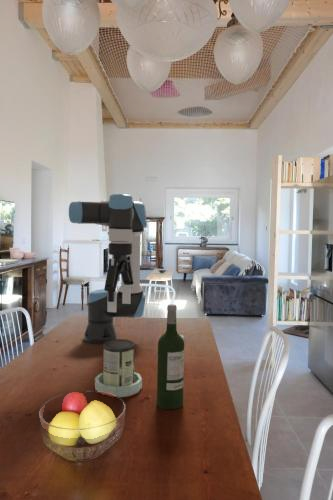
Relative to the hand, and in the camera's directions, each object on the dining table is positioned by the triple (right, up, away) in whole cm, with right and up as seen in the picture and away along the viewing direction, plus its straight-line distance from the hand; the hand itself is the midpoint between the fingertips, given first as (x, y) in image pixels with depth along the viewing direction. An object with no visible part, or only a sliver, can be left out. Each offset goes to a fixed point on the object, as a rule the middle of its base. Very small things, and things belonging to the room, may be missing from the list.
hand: (119, 307), depth 126 cm
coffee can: (-1, -26, +2) cm, 26 cm away
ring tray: (-1, -27, +2) cm, 27 cm away
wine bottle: (+16, -28, -10) cm, 34 cm away
